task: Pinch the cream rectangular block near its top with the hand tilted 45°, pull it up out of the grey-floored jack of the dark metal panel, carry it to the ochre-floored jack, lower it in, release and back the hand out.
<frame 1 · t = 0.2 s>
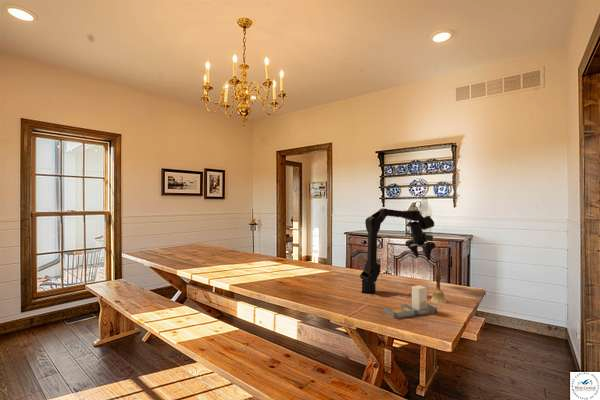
hand: (423, 258, 177), 15 cm above the table, tool pointing down, fingers open, 9 cm apart
hand bell: (438, 303, 149), on the table
cream rectangular block: (419, 310, 137), point 1 cm above the table, touching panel
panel: (409, 313, 135), on the table
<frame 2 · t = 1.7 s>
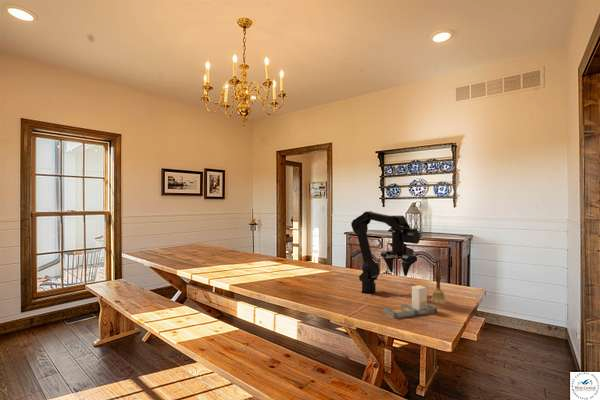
hand: (398, 273, 152), 13 cm above the table, tool pointing down, fingers open, 9 cm apart
nothing on the table moved.
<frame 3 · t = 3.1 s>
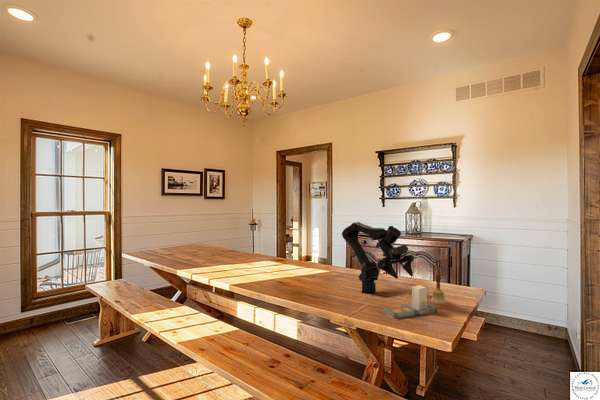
hand: (405, 277, 144), 13 cm above the table, tool tilted 45°, fingers open, 9 cm apart
nothing on the table moved.
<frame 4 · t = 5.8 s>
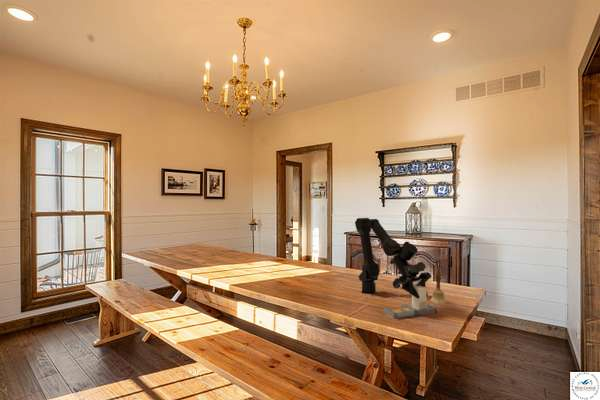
hand: (422, 297, 135), 7 cm above the table, tool tilted 45°, fingers closed on cream rectangular block, 4 cm apart
cream rectangular block: (419, 310, 137), point 1 cm above the table, touching gripper, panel
everything else where it was.
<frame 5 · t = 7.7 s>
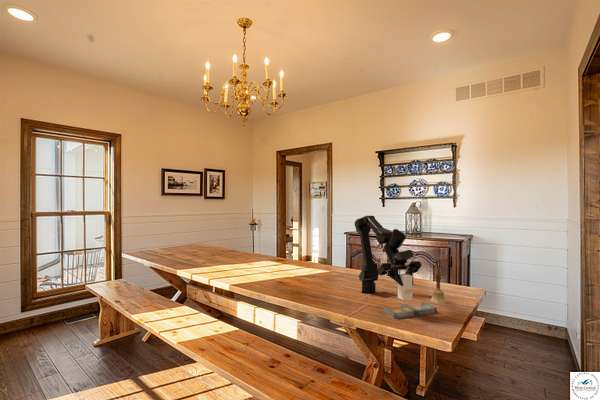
hand: (407, 285, 132), 13 cm above the table, tool tilted 45°, fingers closed on cream rectangular block, 4 cm apart
cream rectangular block: (405, 298, 134), point 7 cm above the table, touching gripper
everything else where it was.
when the fingers open (8 cm above the table, at t = 9.5 s): cream rectangular block stays where it is, resting on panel.
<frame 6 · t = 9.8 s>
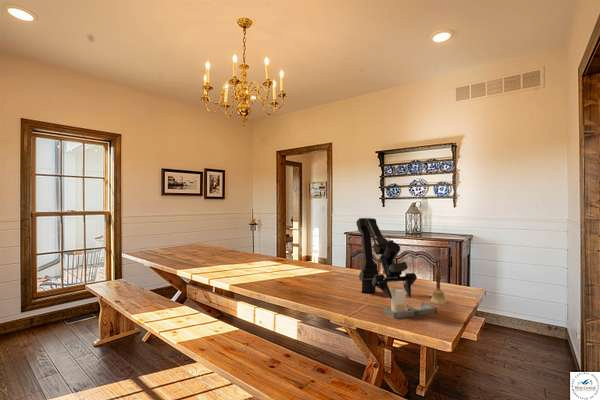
hand: (400, 297, 131), 8 cm above the table, tool tilted 45°, fingers open, 8 cm apart
cream rectangular block: (398, 313, 133), point 1 cm above the table, touching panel
everything else where it was.
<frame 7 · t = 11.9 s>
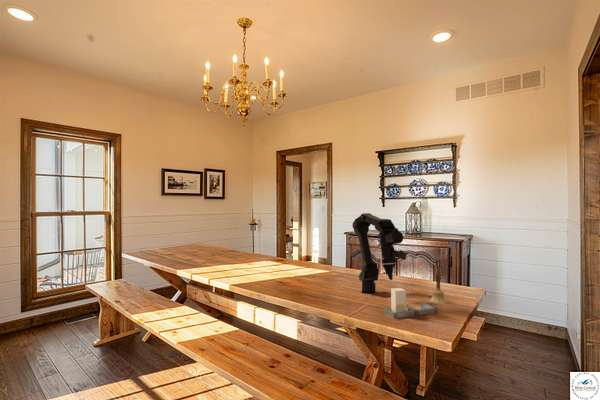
hand: (391, 279, 146), 12 cm above the table, tool pointing down, fingers open, 9 cm apart
nothing on the table moved.
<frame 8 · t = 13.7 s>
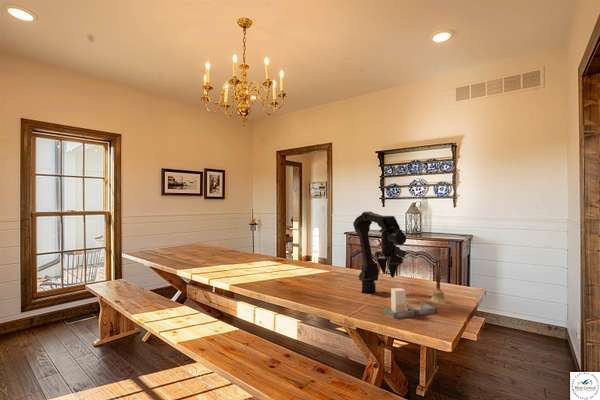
hand: (388, 275, 150), 13 cm above the table, tool pointing down, fingers open, 9 cm apart
nothing on the table moved.
at the end: cream rectangular block 0.0 cm from the target spot, point 0.9 cm above the table; cream rectangular block tilted 0°; the gripper is holding nothing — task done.
